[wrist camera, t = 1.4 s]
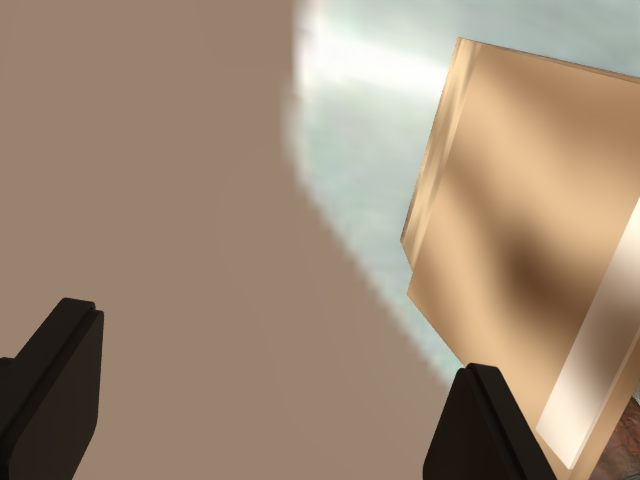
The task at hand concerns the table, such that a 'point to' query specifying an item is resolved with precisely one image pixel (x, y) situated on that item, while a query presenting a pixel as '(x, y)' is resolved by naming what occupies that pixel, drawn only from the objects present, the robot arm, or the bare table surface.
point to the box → (452, 137)
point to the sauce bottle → (622, 448)
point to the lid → (542, 247)
